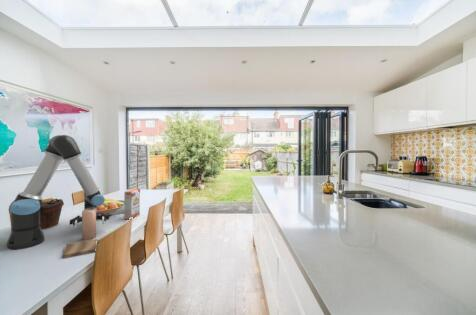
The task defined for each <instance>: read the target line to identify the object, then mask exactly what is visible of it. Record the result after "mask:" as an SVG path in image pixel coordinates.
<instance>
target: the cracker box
mask: <svg viewBox="0 0 476 315" xmlns="http://www.w3.org/2000/svg"><path fill="white" fill-rule="evenodd" d="M123 196H124V200H123V201H124V204H123V205H124V214H123V218H124V220H130V219H129V218H130V217H133V219H134V218H136V217H137V216H139V215H140V213H141V212H140V210H141V209H140V208H141V188H132V189H129V190H126V191H124V195H123Z"/></svg>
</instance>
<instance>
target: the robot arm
mask: <svg viewBox="0 0 476 315" xmlns="http://www.w3.org/2000/svg"><path fill="white" fill-rule="evenodd" d="M44 154H45V155H44V157H43V159H42V160H41V162H40V164H39V165H38V166H37V169H36V170H35V172H34V173H33V175H32V177H31V179H30V180H29V182H28V183H27V185H26V186H25V188H24V190H23V191H22V192H18V193H17V195H16V197H15V199H14V200H13V201H12V202H11V203H10V205H9V207H8V213H9V215H10V233H9V237H8V238H7V241H6V248H7V249H9V250H20V249H27V248H29V247H30V248H31V247H34V246H37V245H39V244H41V243H43V242H44V241H45V238H46V237H45V236H46V235H45V234H44V232H43V229H41V227H40V203H41V202H43V197H42V195H43V193H44V192H45V190H46V189H47V187H48V185H49V183H50V182H51V180H52V178H53V177H54V175H55V173H56V171H57V169H58V168H59V166H60V164H61V163H62V161H66V162H67V164H68V165H69V167H70V169H71V171H72V172H73V175H74V176H75V178H76V180H77V181H78V183H79V185H80V187H81V189H82V190H83V198H84V200H83V201H84V206H83V208H84V210H89V209H95V210H96V221H97V220H99V221H102V222H101V223H102V224H103V225H104V224H105V222H106V221H107V220H108V221H109V220H110V215H108V214H106V213H103V212H100V213H99V214H98V207H100V206H102V205H103V204H104V203H105V201H106V200H105V199H106V198H105V197H104V195H103V194H101V191H100V190H99V187H98V186H97V184H96V182H95V181H94V178H93V176H92V174H91V173H90V170H89V169H88V167H87V165H86V163H85V161H84V160H83V158H82V152H81V150H80V147H79V146H78V143H77V142H76V139H75V138H74V137H72V136H70V135H66V134H61V135H58V134H57V135H55V136H53V137H51V138H50V139H49V140H48V144H47V146H46V148H45V150H44ZM84 210H83V211H84ZM79 223H82V216H81V215H80V214H79V215H77V216H75V217H74V218H72V219H70V220H69V225H72V226H73V227H74V228H75V229H76V228H77V226H78V224H79Z"/></svg>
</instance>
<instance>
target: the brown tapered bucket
mask: <svg viewBox="0 0 476 315" xmlns="http://www.w3.org/2000/svg"><path fill="white" fill-rule="evenodd" d="M64 205H65V203H64V200H63V199H62V198H59V199H58V198H54V199H52V200H49V201H41V203H40V227H41V230H43V229H49V228H53V227H56V226H57V225H59V222H60V216H61V214H62V209H63V206H64Z"/></svg>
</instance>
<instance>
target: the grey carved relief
mask: <svg viewBox="0 0 476 315" xmlns="http://www.w3.org/2000/svg"><path fill="white" fill-rule="evenodd" d="M114 215H115V216H117V215H124V206H123V207H122V208H121V209H120V210H119V211H117V212H116V213H114V214H111V215H110V216H114Z"/></svg>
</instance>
